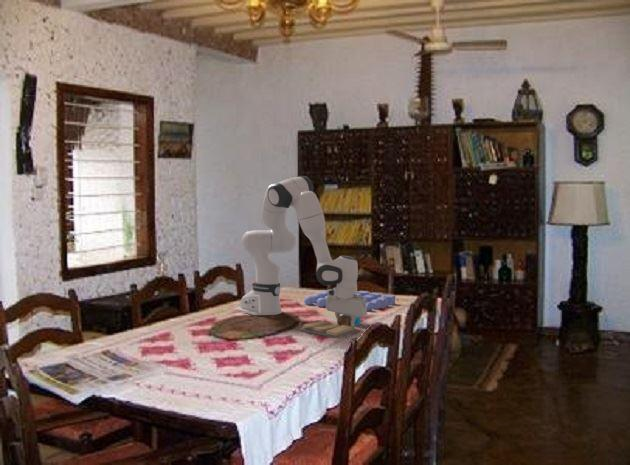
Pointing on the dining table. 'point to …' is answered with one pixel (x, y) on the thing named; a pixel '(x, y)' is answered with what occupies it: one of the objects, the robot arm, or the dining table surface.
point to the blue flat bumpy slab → (371, 299)
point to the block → (344, 320)
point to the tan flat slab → (320, 326)
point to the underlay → (331, 331)
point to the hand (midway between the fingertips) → (345, 324)
